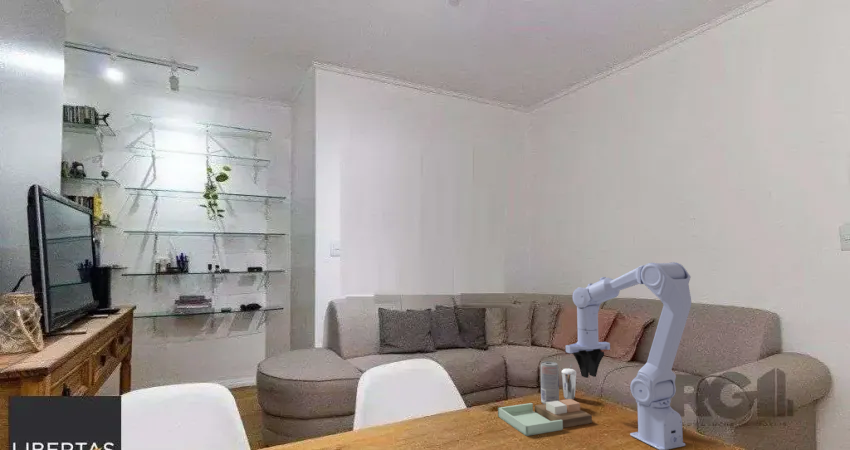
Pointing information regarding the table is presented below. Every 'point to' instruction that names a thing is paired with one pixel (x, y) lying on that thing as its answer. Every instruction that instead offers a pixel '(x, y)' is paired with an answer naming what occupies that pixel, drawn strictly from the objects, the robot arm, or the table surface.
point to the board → (565, 416)
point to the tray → (528, 420)
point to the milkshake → (569, 382)
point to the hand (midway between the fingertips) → (588, 376)
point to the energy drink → (549, 382)
